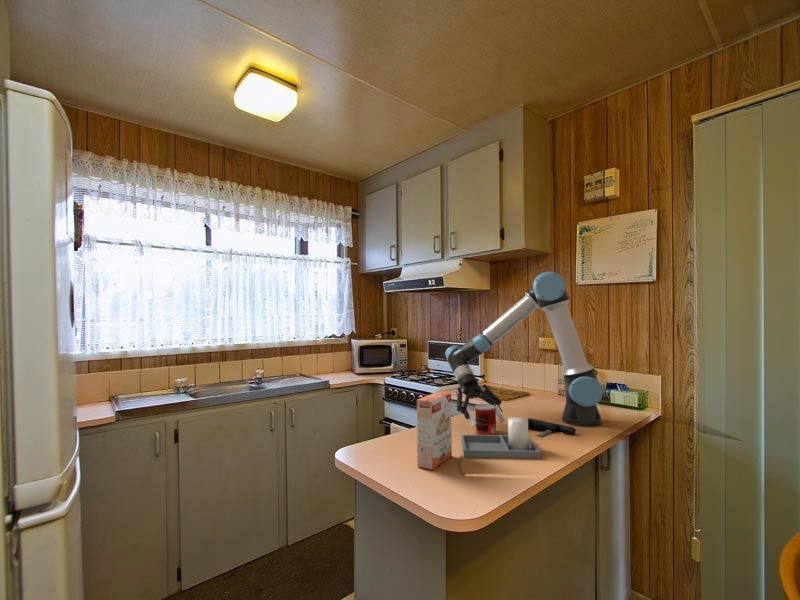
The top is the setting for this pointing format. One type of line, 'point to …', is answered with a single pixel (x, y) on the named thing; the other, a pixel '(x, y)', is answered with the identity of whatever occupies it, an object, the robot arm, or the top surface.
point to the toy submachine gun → (548, 427)
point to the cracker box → (434, 430)
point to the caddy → (495, 447)
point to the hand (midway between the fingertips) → (488, 423)
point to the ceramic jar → (518, 434)
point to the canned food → (485, 419)
